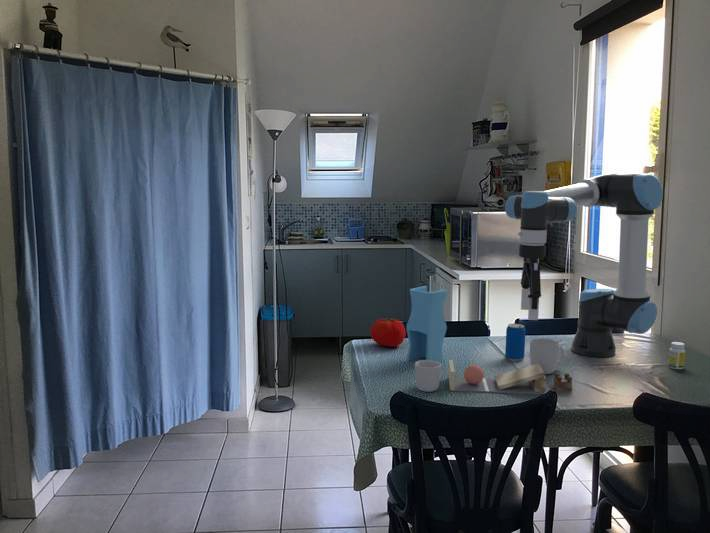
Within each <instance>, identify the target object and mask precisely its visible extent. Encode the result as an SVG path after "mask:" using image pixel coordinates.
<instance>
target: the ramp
mask: <svg viewBox="0 0 710 533" xmlns="http://www.w3.org/2000/svg"><path fill="white" fill-rule="evenodd" d="M494 379H496V382H497V385H498V388H499V390H501V389H504V388H507V387H511V386H514V385H518V384H521V383H524V382H528V381H530V383H531V385H532V387H533V389H534V391H535V392H545V386H546V383H547V378H546V374H544V372H543V370H542V368H541V367H540V365H539V363H538V364H535V365H532V366H531V365H529V366H528V365H527V366H526V367H522V368H519V369H515V370H513V371H512V370H511V371H508V372H505V373H503V374H499V375H496V376H494Z"/></svg>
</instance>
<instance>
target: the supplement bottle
mask: <svg viewBox="0 0 710 533" xmlns="http://www.w3.org/2000/svg"><path fill="white" fill-rule="evenodd" d="M685 358H686V350H685V343H683V342H680V341H672V342H671V343H670V348H669V350H668V368H670V369H674V370H683V369H684V368H685V360H686V359H685Z"/></svg>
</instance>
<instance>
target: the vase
mask: <svg viewBox="0 0 710 533" xmlns="http://www.w3.org/2000/svg"><path fill="white" fill-rule="evenodd" d="M409 293H410V298H411V299H410V300H411V310H410V311H411V312H410V316H409V319H408V321H407V323H406V328H405V331H406V334H407V338H408V351H407V355H406V359H405V361H406V362H410V361H413V360H416V359H418V358H425V360H432V361H437V362H439V363H443V362H444V353H443V345H444V339H445V336H446V333H447V330H448V326H447V323H446V319H445V315H444V305H445V304H444V303H445V300H446V299H445V298H446V297H447V293H448V289H445V288H444V289H440V290H437V291H428V286H427V285H423V286H418V287H414V288H413V287H412V288H409Z"/></svg>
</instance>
